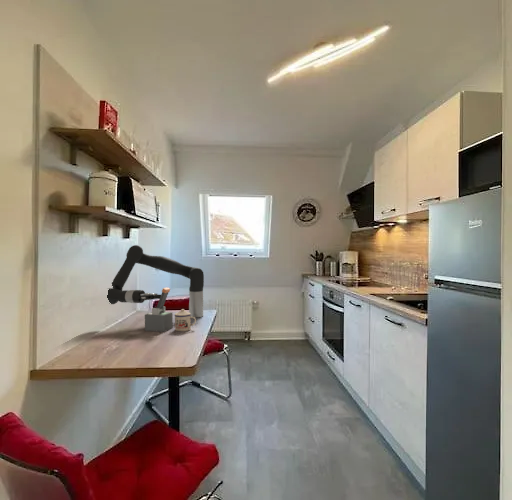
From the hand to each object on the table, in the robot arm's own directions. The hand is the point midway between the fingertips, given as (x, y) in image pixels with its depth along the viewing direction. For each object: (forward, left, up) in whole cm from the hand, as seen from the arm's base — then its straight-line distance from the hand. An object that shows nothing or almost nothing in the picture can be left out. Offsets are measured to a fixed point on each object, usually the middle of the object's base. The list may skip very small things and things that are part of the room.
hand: (162, 296), depth 204 cm
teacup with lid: (+10, +9, -19) cm, 23 cm away
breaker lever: (-2, -2, -9) cm, 9 cm away
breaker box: (-2, -1, -19) cm, 19 cm away
